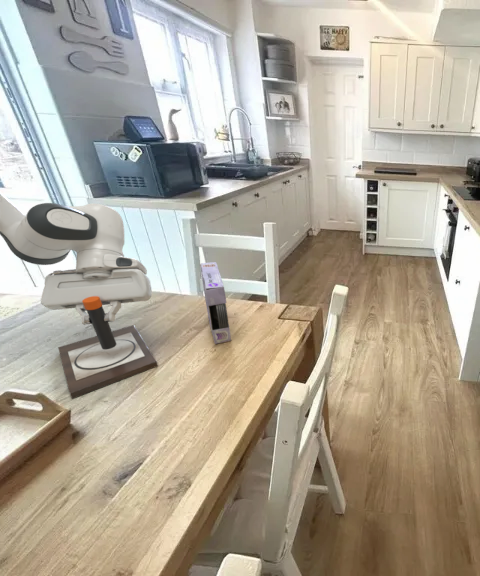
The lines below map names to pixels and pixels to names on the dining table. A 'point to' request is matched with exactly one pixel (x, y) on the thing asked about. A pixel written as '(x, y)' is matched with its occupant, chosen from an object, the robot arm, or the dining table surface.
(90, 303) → the marker
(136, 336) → the picture frame
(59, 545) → the dining table surface
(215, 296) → the cake pan box
